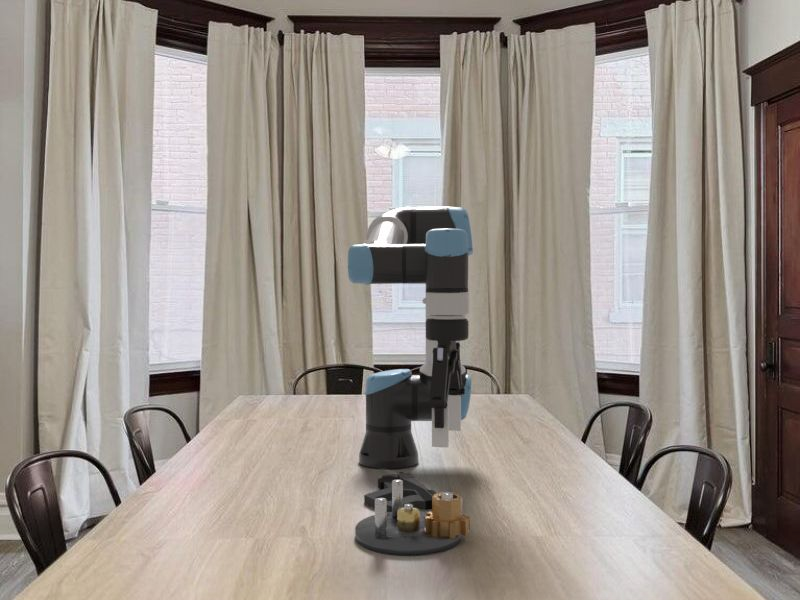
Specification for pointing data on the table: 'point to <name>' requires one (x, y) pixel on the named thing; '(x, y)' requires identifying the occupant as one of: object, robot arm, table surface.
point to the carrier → (401, 528)
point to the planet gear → (447, 517)
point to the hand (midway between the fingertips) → (447, 438)
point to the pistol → (411, 492)
